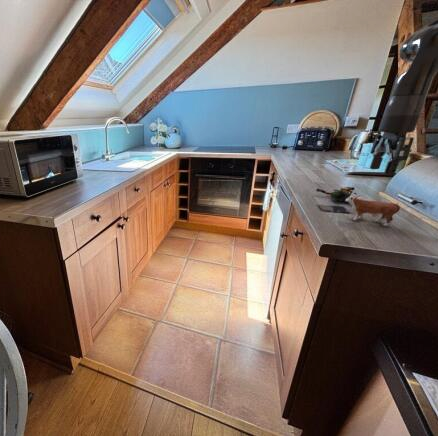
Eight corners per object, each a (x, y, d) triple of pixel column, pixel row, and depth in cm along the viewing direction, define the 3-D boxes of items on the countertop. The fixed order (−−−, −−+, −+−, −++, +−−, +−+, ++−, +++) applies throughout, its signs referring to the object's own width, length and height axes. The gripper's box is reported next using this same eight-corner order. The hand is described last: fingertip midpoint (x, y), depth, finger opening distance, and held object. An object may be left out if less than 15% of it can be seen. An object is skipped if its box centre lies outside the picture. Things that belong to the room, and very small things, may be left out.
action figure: (348, 194, 108) (377, 205, 94) (314, 194, 108) (338, 205, 94) (352, 182, 105) (382, 191, 91) (317, 182, 106) (342, 191, 92)
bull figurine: (341, 214, 86) (348, 192, 83) (393, 224, 77) (403, 200, 74) (338, 217, 83) (345, 194, 80) (392, 228, 74) (402, 203, 71)
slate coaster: (342, 207, 92) (342, 206, 92) (349, 213, 87) (349, 212, 87) (318, 205, 95) (318, 204, 95) (323, 210, 89) (323, 209, 89)
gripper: (437, 113, 61) (411, 177, 67) (403, 113, 73) (383, 167, 79) (399, 114, 63) (377, 176, 69) (372, 114, 75) (356, 166, 81)
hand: (381, 171), depth 74 cm, fingers open, 8 cm apart
